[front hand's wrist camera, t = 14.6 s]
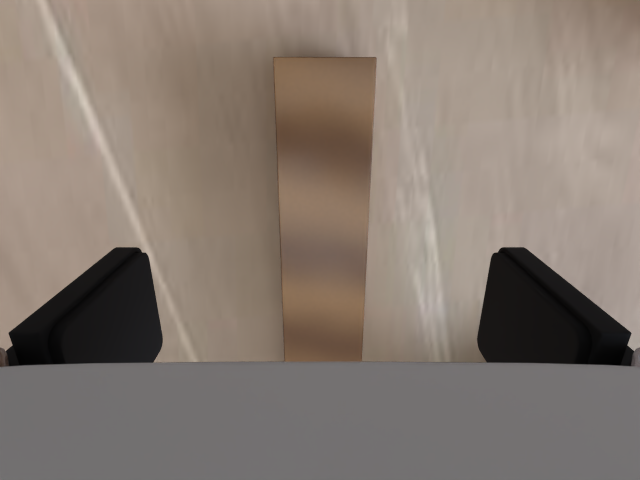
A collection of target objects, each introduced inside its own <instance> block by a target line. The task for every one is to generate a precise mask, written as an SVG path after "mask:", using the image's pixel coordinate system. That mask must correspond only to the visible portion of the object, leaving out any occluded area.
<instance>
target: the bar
mask: <svg viewBox="0 0 640 480" xmlns="http://www.w3.org/2000/svg"><path fill="white" fill-rule="evenodd" d="M273 63H274V90H275V116H276V143H277V170H278V197H279V224H280V250H281V277H282V304H283V331H284V358H285V362H362V342H363V321H364V301H365V281H366V261H367V241H368V220H369V200H370V180H371V160H372V139H373V119H374V99H375V79H376V57H274V58H273Z"/></svg>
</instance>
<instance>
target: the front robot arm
mask: <svg viewBox="0 0 640 480" xmlns="http://www.w3.org/2000/svg"><path fill="white" fill-rule="evenodd" d="M9 336H10V339H11V342H12V344H13V346H11V347H10V348H9V349H8V350H7V351H5V350H4V349H3V348H0V480H640V348H637V349H636V350H635V351H633V350H632V349H631V348H630V347H629V346H627V344H628V342H629V339H630V336H631V332H630V331H628V330H627V329H626V328H625V327H623V326H622V325H621V324H620V323H618V322H617V321H616V320H615V319H613V318H612V317H611V316H610V315H608V314H607V313H606V312H605V311H603V310H602V309H601V308H600V307H598V306H597V305H596V304H595V303H593V302H592V301H591V300H590V299H588V298H587V297H586V296H585V295H583V294H582V293H581V292H580V291H578V290H577V289H576V288H575V287H573V286H572V285H571V284H570V283H568V282H567V281H566V280H565V279H563V278H562V277H561V276H560V275H558V274H557V273H556V272H555V271H553V270H552V269H551V268H550V267H548V266H547V265H546V264H545V263H543V262H542V261H541V260H540V259H538V258H537V257H536V256H535V255H533V254H532V253H531V252H530V251H528V250H527V249H526V248H524V247H504V248H501V249H500V250H499V251H498V253H494V254H493V255H492V257H491V262H490V268H489V273H488V279H487V285H486V291H485V296H484V302H483V308H482V314H481V319H480V325H479V331H478V338H477V342H478V347H479V350H480V352H481V353H482V355H483V357H484V358H485V360H486V362H487V363H467V362H171V363H153V362H154V360H155V358H156V357H157V355H158V353H159V352H160V350H161V347H162V342H163V338H162V331H161V325H160V319H159V314H158V308H157V302H156V296H155V291H154V285H153V279H152V273H151V268H150V262H149V257H148V255H147V254H146V253H142V251H141V250H140V249H139V248H136V247H116V248H114V249H113V250H112V251H110V252H109V253H108V254H107V255H105V256H104V257H103V258H102V259H100V260H99V261H98V262H97V263H95V264H94V265H93V266H92V267H90V268H89V269H88V270H87V271H85V272H84V273H83V274H82V275H80V276H79V277H78V278H77V279H75V280H74V281H73V282H72V283H70V284H69V285H68V286H67V287H65V288H64V289H63V290H62V291H60V292H59V293H58V294H57V295H55V296H54V297H53V298H52V299H50V300H49V301H48V302H47V303H45V304H44V305H43V306H42V307H40V308H39V309H38V310H37V311H35V312H34V313H33V314H32V315H30V316H29V317H28V318H27V319H25V320H24V321H23V322H22V323H20V324H19V325H18V326H17V327H15V328H14V329H13V330H12V331H10V332H9Z"/></svg>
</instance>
